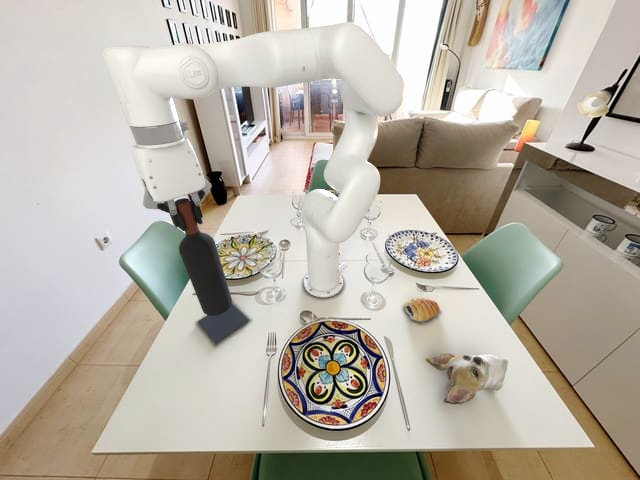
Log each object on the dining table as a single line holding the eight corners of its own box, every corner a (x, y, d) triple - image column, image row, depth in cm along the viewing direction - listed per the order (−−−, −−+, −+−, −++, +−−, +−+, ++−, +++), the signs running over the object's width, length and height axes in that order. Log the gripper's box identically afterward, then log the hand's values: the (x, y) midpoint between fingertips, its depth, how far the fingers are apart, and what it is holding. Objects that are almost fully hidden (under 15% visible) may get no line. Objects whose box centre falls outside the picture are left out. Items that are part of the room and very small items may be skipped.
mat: (229, 302, 80) (229, 301, 80) (248, 321, 75) (248, 319, 74) (197, 322, 74) (197, 321, 74) (215, 344, 69) (215, 343, 68)
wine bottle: (201, 319, 67) (157, 212, 50) (203, 297, 73) (164, 196, 56) (232, 311, 68) (200, 206, 51) (232, 291, 74) (203, 191, 57)
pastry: (429, 300, 80) (432, 290, 77) (444, 317, 74) (447, 308, 72) (401, 306, 78) (403, 297, 76) (413, 325, 72) (416, 316, 70)
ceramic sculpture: (528, 381, 51) (450, 390, 50) (514, 403, 55) (442, 412, 55) (494, 333, 59) (427, 341, 59) (484, 356, 64) (422, 364, 64)
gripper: (194, 123, 53) (216, 206, 64) (97, 140, 44) (142, 234, 54) (213, 128, 49) (233, 216, 59) (110, 148, 39) (156, 249, 50)
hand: (189, 224), depth 57 cm, fingers closed on wine bottle, 2 cm apart
